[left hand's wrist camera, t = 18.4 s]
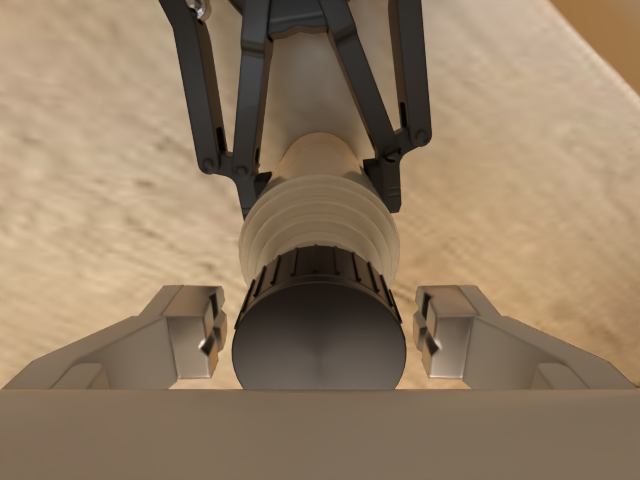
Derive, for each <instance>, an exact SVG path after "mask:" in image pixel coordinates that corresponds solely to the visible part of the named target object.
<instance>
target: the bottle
mask: <svg viewBox="0 0 640 480" xmlns="http://www.w3.org/2000/svg"><path fill="white" fill-rule="evenodd" d="M314 244H317V245H320V246H332V247H334V246H337V247H338V248H341V249H344V250H348V251H350V252H353V251H354V252H356V254H357V255H358V256H360V257H362V258H363V259H365V260H366V261H367V262H369V261H370V262H371V263H372V266H373V267H374V268H375V269H376V270H377V271H378V273H379V274H380V275H381V274H382V275H383V276H384V279H385V282H386V284H387V287H388V289H390V288H391V286H392V284H393V281H394V279H395V276H396V272H397V268H398V263H399V255H400V241H399V235H398V231H397V227H396V224H395V222H394V220H393V218H392V215H391V214H390V212H389V210H388V209H387V207H386V205H385V204H384V202H383V201H382V199H381V197H380V196H379V194H378V192H377V191H376V189H375V187H374V186H373V184H372V182H371V181H370V179H369V178H368V176H367V174H366V173H365V171H364V169H363V168H362V166H361V164H360V163H359V161H358V160H357V158H356V156H355V155H354V153H353V151H352V150H351V148H350V147H349V146H348V145H347V143H345V142H344V141H343V140H342V139H340V138H339V137H337V136H335V135H332V134H329V133H324V132H315V133H310V134H307V135H304V136H302V137H300V138H299V139H297V140H296V141H295V142H294V143H293V144H292V145H291V146H290V147H289V148H288V150H287V152H286V153H285V155H284V157H283V158H282V160H281V161H280V163H279V165H278V166H277V168H276V169H275V171H274V173H273V174H272V176H271V178H270V179H269V181H268V182H267V184H266V186H265V187H264V189H263V191H262V192H261V194H260V195H259V197H258V199H257V200H256V202H255V203H254V205H253V207H252V208H251V210H250V212H249V213H248V215H247V217H246V219H245V221H244V224H243V226H242V230H241V234H240V239H239V258H240V264H241V269H242V274H243V277H244V280H245V282H246V284H247V287H248V289H249V287H250V285H251V282H252V280H253V279H256V277H257V276H258V274H259V273H260V272H261V269H262V267H263V266H264V265H265V266H266V265H268V264H269V263H270V262H271V261H272V260H274V259H275V258H276V257H277V255H279V254H280V255H282V254H284V253H286V252H288V251H291V250H294V248H295V247H298V248H301V247H306V246H314Z"/></svg>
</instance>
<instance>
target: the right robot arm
mask: <svg viewBox="0 0 640 480" xmlns="http://www.w3.org/2000/svg"><path fill="white" fill-rule="evenodd" d="M228 1H229V2H230V3H231V4H232V5H233V7H234V8H235V9H236V10H237V11H238V12H239V13H240V15H241V16H242V17H243V19H242V31H241V51H242V54H241V66H240V77H239V88H238V100H237V111H236V122H235V134H234V145H233V152H228V150H227V143H226V137H225V130H224V124H223V117H222V111H221V104H220V98H219V91H218V85H217V78H216V72H215V65H214V59H213V52H212V46H211V40H210V35H209V32H208V29H207V26H206V23H205V20H207V19H208V18H209V17H210V15H211V4H210V0H159V2H160V4H161V6H162V8H163V10H164V12H165V14H166V16H167V18H168V20H169V22H170V24H171V26H172V28H173V32H174V37H175V42H176V48H177V53H178V59H179V64H180V70H181V75H182V80H183V86H184V91H185V97H186V102H187V108H188V113H189V118H190V124H191V129H192V135H193V140H194V145H195V151H196V156H197V162H198V166H199V169H200V170H201V171H202V172H203V173H205V174H210V175H211V174H218V175H223V176H227V177H229V178H231V179H232V180H233V181H234V182H235V184H236V187H237V191H238V195H239V200H240V205H241V208H242V214H243V219H244V221H245V219H246V217H247V215H248V213H249V212H250V210H251V208H252V207H253V205H254V203H255V202H256V200H257V199H258V197H259V195H260V194H261V192H262V191H263V189H264V187H265V186H266V184H267V182H268V181H269V179H270V178H271V176H272V172H265V173H260V174H259V172H258V168H259V166H260V164H259V158H260V149H261V141H262V132H263V123H264V114H265V106H266V97H267V88H268V80H269V71H270V62H271V58H272V54H273V46H274V40H275V39H282V38H287V37H289V36H291V35H293V34H295V33H297V32H305V33H311V34H316V33H323V32H326V34H327V36H328V39H329V41H330V44H331V46H332V48H333V50H334V52H335V54H336V57H337V59H338V62H339V64H340V67H341V69H342V72H343V74H344V77H345V79H346V82H347V84H348V87H349V89H350V92H351V94H352V97H353V99H354V102H355V104H356V107H357V109H358V112H359V114H360V117H361V119H362V122H363V124H364V127H365V129H366V132H367V134H368V137H369V139H370V142H371V144H372V147H373V149H374V151H375V158H372V159H364V160H363V168H364V171H365V173H366V174H367V176H368V178H369V179H370V181H371V182H372V184H373V186H374V187H375V189H376V191H377V192H378V194H379V196H380V197H381V199H382V201H383V202H384V204H385V205H386V207H387V209H388V210H389V212H390V213H397V212H399V210H400V207H401V189H400V188H401V187H400V168H399V165H400V160H401V159H402V157H403V156H404V155H405V154H406V153H407V152H409V151H411V150H413V149H415V148H417V147H423V146H425V145H427V144H428V143H429V142H430V140H431V138H432V128H431V116H430V104H429V91H428V79H427V67H426V55H425V42H424V30H423V18H422V5H421V0H388V15H389V25H390V35H391V44H392V53H393V62H394V71H395V80H396V89H397V98H398V107H399V116H400V125H401V128H400V129H398V130H396V131H393V128H392V125H391V123H390V120H389V117H388V115H387V112H386V109H385V107H384V104H383V101H382V99H381V96H380V93H379V91H378V88H377V85H376V83H375V80H374V77H373V75H372V72H371V69H370V67H369V64H368V61H367V59H366V56H365V53H364V51H363V48H362V45H361V43H360V40H359V37H358V34H357V29H356V25H355V22H354V20H353V17H352V14H351V12H350V9H349V6H348V2H349V0H228Z"/></svg>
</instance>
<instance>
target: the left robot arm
mask: <svg viewBox="0 0 640 480" xmlns="http://www.w3.org/2000/svg"><path fill="white" fill-rule="evenodd" d="M224 301H225V298H224V291H223V288H222V287H221V286H195V285H185V286H184V285H166V286H163V287H162V288H161V290H160V291H159V292H158V293H157V294H156V296H155V297H154V298H153V299H152V300H151V301H150V303H149V304H148V305H147V306H146V307H145V309H144V310H143V311H142V312H141V313H140V315H139V316H131V317H129V318H127V319H125V320H123V321H120V322H118V323H116V324H114V325H111V326H109V327H107V328H105V329H103V330H100V331H98V332H96V333H94V334H91V335H89V336H87V337H85V338H83V339H80V340H78V341H76V342H74V343H71V344H69V345H67V346H65V347H63V348H60V349H58V350H56V351H54V352H52V353H49V354H47V355H45V356H43V357H40V358H38V359H36V360H34V361H32V362H31V363H29V364H28V365H27V366H26V367H25V368H24V369H23V370H22V371H21V372H20V373H19V374H17V375H16V376H15V377H14V378H13V379H12V380H11V381H10V382H9V383H8V384H7V385H5V386H4V387H3V388H2V389H0V480H640V388H637V387H636V386H635V385H634V384H633V383H631V382H630V381H629V380H628V379H627V378H626V377H625V376H624V375H623V374H622V373H621V372H620V371H618V370H617V369H616V368H615V367H614V366H613V365H612V364H611V363H610V362H608V361H606V360H604V359H602V358H599V357H597V356H595V355H593V354H591V353H588V352H586V351H584V350H582V349H579V348H577V347H575V346H573V345H571V344H568V343H566V342H564V341H562V340H560V339H557V338H555V337H553V336H551V335H548V334H546V333H544V332H542V331H540V330H537V329H535V328H533V327H531V326H529V325H526V324H524V323H522V322H520V321H517V320H515V319H513V318H511V317H509V316H501V315H500V313H499V312H498V311H497V310H496V309H495V307H494V306H493V305H492V304H491V303H490V301H489V300H488V299H487V298H486V297H485V296H484V294H483V293H482V292H481V291H480V290H479V288H478V287H477V286H475V285H458V286H457V285H442V286H419V287H418V288H417V291H416V298H415V301H416V304H417V306H418V308H419V310H418V311H417V312H416V313H415V314H414V317H413V336H414V341H415V344H416V347H417V349H418V350H419V351H421V352H422V363H423V365H424V368H425V370H426V373H427V375H428V378H429V379H463V382H465V383H466V384H467V385H468V386H469V387H471V388H472V389H168V388H170V387H171V386H172V385H173V384H174V383H176V382H177V379H210V378H212V376H213V373H214V371H215V368H216V366H217V363H218V352H219V351H221V350H222V349H223V347H224V344H225V342H226V335H227V316H226V314H225V313H224V312H223V311H222V310H221V308H222V306H223V304H224Z"/></svg>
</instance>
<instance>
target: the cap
mask: <svg viewBox="0 0 640 480" xmlns="http://www.w3.org/2000/svg"><path fill="white" fill-rule="evenodd" d="M401 323H402V320H401V317H400V314H399V311H398V309H397V306H396V303H395V301H394V298H393V295H392V292H391V290H390V289H388V287H387V284H386V282H385V279H384V276H383V275H382V274H381V275H380V274H379V273H378V271H377V270H376V269H375V268H374V267H373V266H372V263H371V262H370V261H369V262H367V261H366V260H365V259H363V258H362V257H360V256H358V255H357V254H356V252H354V251H353V252H350V251H348V250H344V249H341V248H338V247H337V246H334V247H332V246H320V245H317V244H314V246H306V247H301V248H298V247H295V248H294V250H291V251H288V252H286V253H284V254H282V255H280V254H279V255H277V257H276V258H275V259H274V260H272V261H271V262H270V263H269V264H268V265H266V266H265V265H264V266H263V267H262V269H261V272H260V273H259V274H258V276H257V277H256V279H253V280H252V282H251V285H250V287H249V290H248V293H247V294H246V297H245V300H244V302H243V305H242V308H241V310H240V313H239V316H238V319H237V321H236V324H235V327H234V329H235V330H236V331H235V334H234V338H233V342H232V362H233V367H234V371H235V373H236V376H237V379H238V380H239V382H240V384H241V386H242V387H243V389H395V387H396V386H397V385H398V383H399V381H400V379H401V377H402V374H403V371H404V368H405V363H406V342H405V336H404V333H403V330H402V327H401V325H400V324H401Z"/></svg>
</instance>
